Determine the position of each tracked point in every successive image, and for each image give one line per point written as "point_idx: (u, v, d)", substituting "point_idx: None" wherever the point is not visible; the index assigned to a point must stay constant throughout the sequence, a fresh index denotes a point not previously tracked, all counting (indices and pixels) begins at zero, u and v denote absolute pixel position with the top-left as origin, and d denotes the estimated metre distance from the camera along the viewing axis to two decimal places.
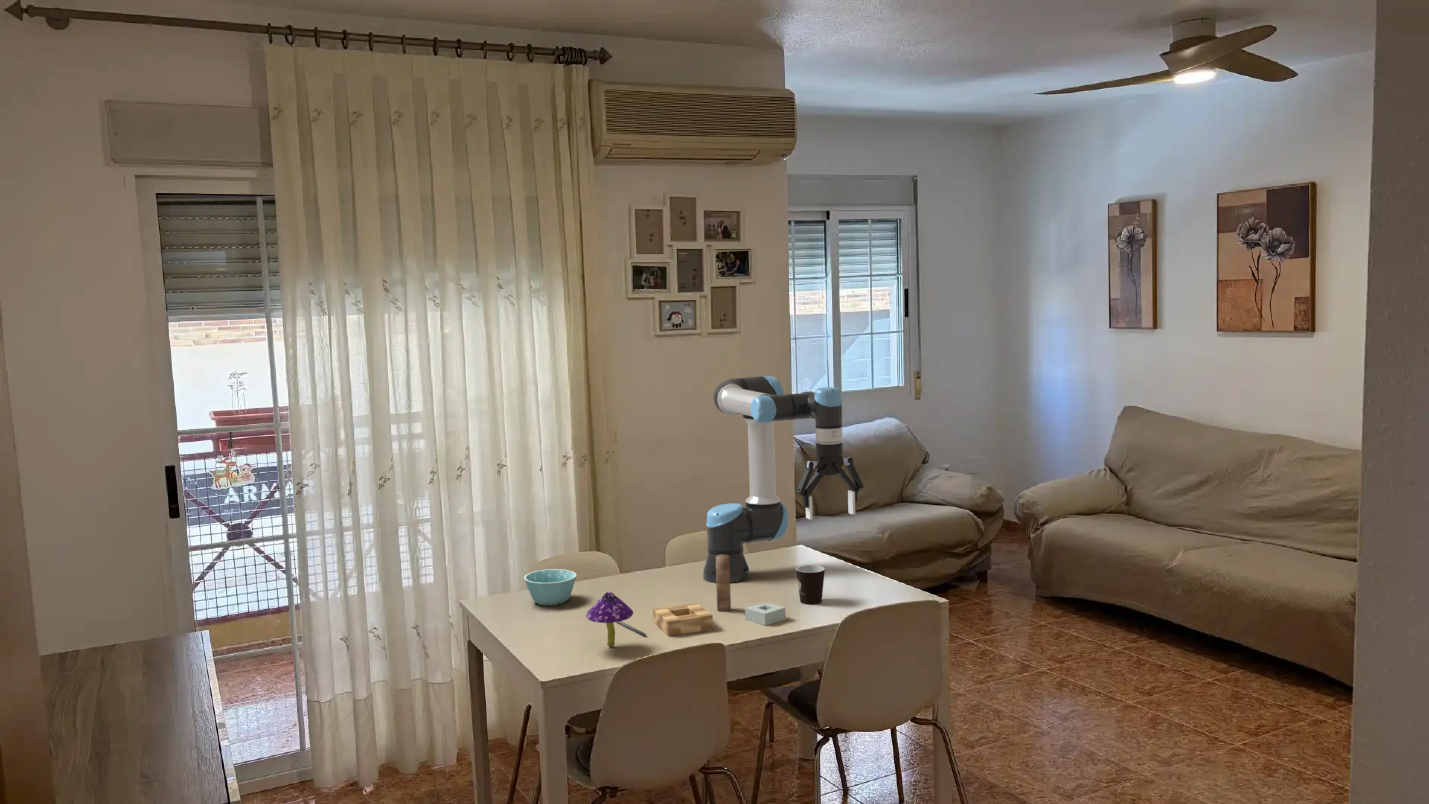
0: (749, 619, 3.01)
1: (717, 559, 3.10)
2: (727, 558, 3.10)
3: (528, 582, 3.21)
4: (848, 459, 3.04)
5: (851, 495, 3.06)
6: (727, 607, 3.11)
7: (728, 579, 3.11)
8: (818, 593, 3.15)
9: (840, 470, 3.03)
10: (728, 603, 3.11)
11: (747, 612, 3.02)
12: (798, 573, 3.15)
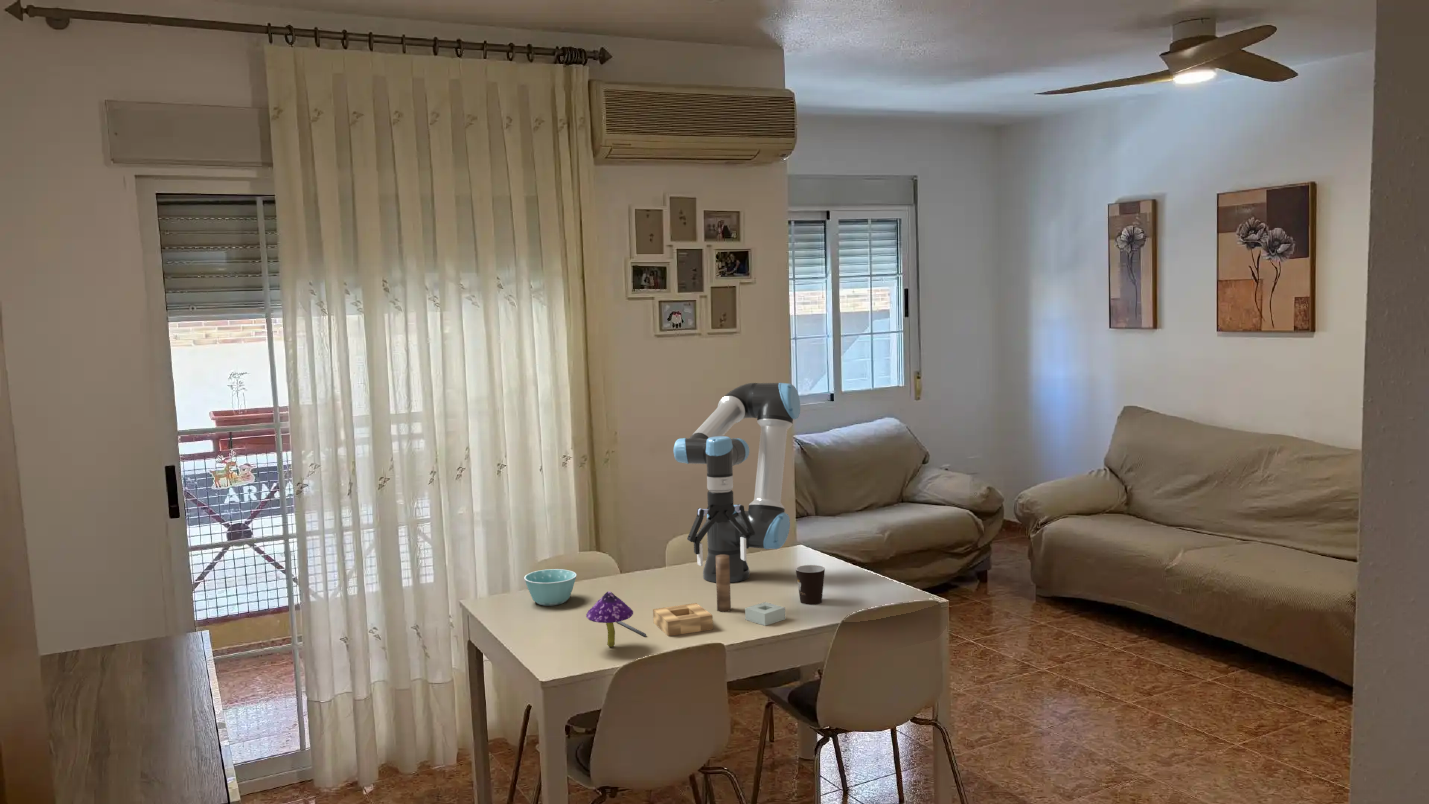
0: (749, 619, 3.01)
1: (717, 559, 3.10)
2: (727, 558, 3.10)
3: (528, 582, 3.21)
4: (739, 506, 3.11)
5: (742, 542, 3.12)
6: (727, 607, 3.11)
7: (728, 579, 3.11)
8: (818, 593, 3.15)
9: (731, 517, 3.09)
10: (728, 603, 3.11)
11: (747, 612, 3.02)
12: (798, 573, 3.15)
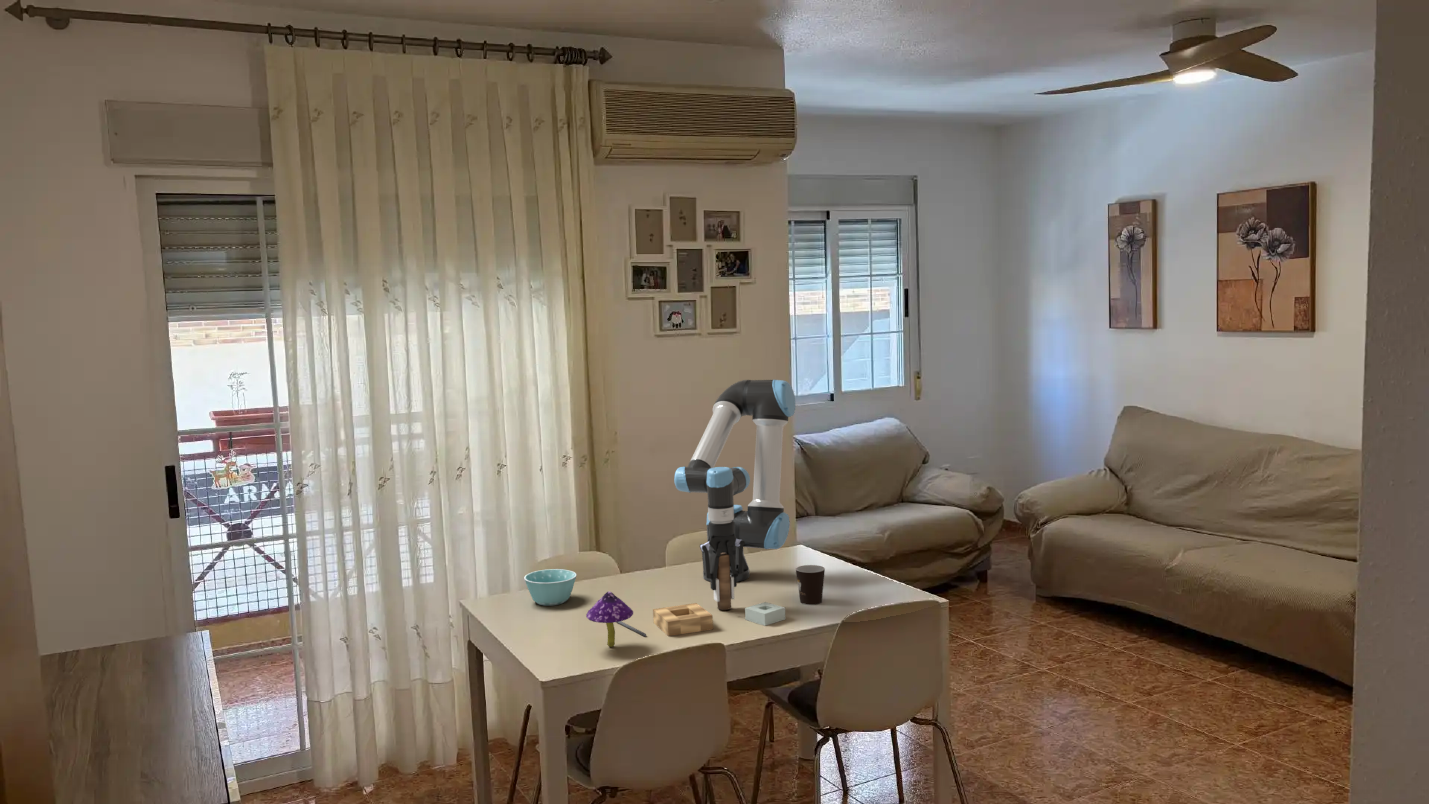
0: (749, 619, 3.01)
1: None
2: (727, 556, 3.10)
3: (528, 582, 3.21)
4: (740, 541, 3.12)
5: (730, 580, 3.12)
6: (727, 605, 3.11)
7: (728, 577, 3.11)
8: (818, 593, 3.15)
9: (729, 549, 3.10)
10: (728, 601, 3.11)
11: (747, 612, 3.02)
12: (798, 573, 3.15)
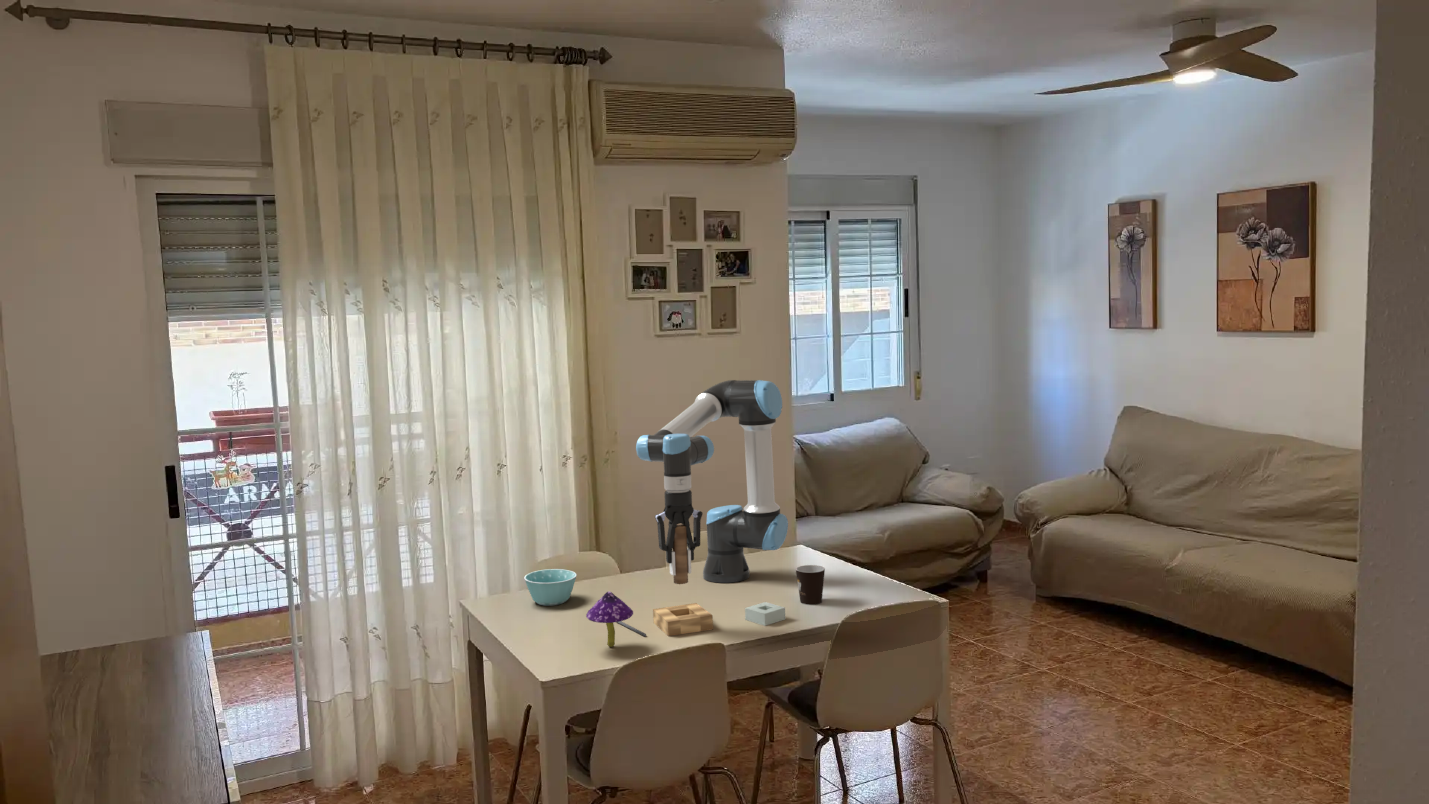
0: (749, 619, 3.01)
1: None
2: (684, 527, 2.94)
3: (528, 582, 3.21)
4: (698, 512, 2.97)
5: (687, 553, 2.96)
6: (683, 579, 2.95)
7: (685, 550, 2.95)
8: (818, 593, 3.15)
9: (686, 520, 2.94)
10: (685, 575, 2.95)
11: (747, 612, 3.02)
12: (798, 573, 3.15)
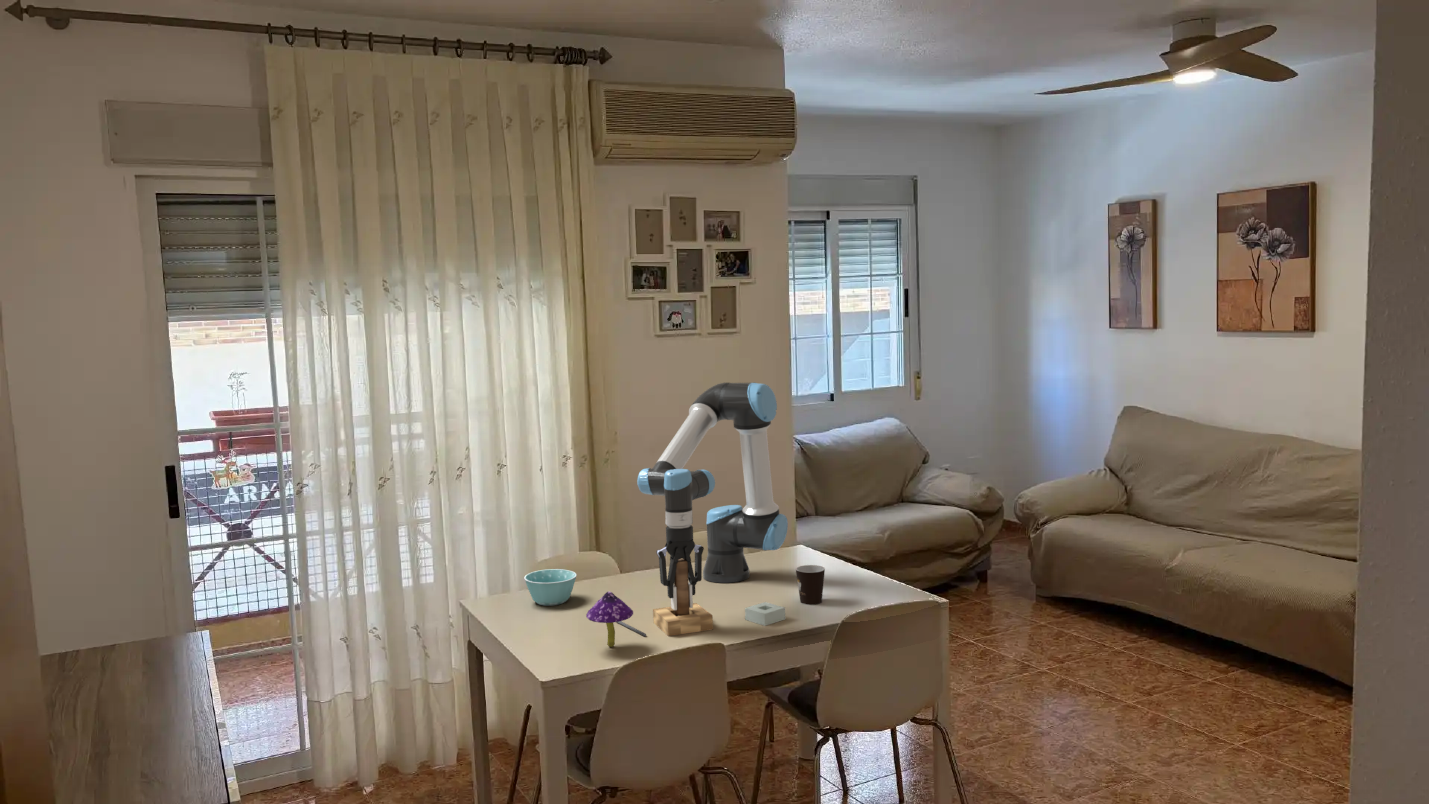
0: (749, 619, 3.01)
1: None
2: (685, 563, 2.95)
3: (528, 582, 3.21)
4: (699, 547, 2.98)
5: None
6: (685, 614, 2.96)
7: (686, 585, 2.96)
8: (818, 593, 3.15)
9: (687, 556, 2.95)
10: (686, 610, 2.97)
11: (747, 612, 3.02)
12: (798, 573, 3.15)
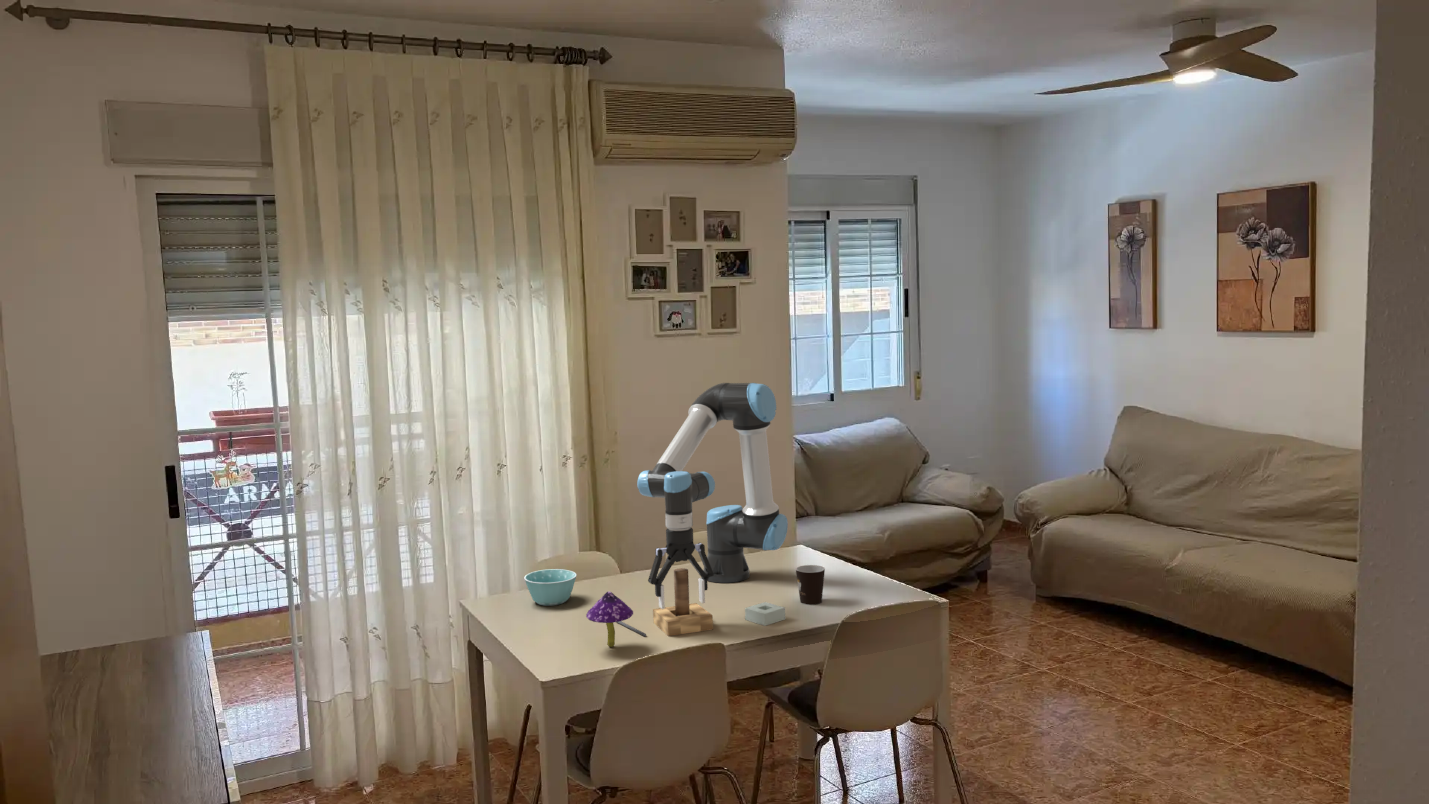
0: (749, 619, 3.01)
1: (675, 573, 2.96)
2: (686, 572, 2.96)
3: (528, 582, 3.21)
4: (700, 545, 2.98)
5: (701, 583, 2.99)
6: None
7: (687, 594, 2.96)
8: (818, 593, 3.15)
9: (690, 557, 2.96)
10: None
11: (747, 612, 3.02)
12: (798, 573, 3.15)
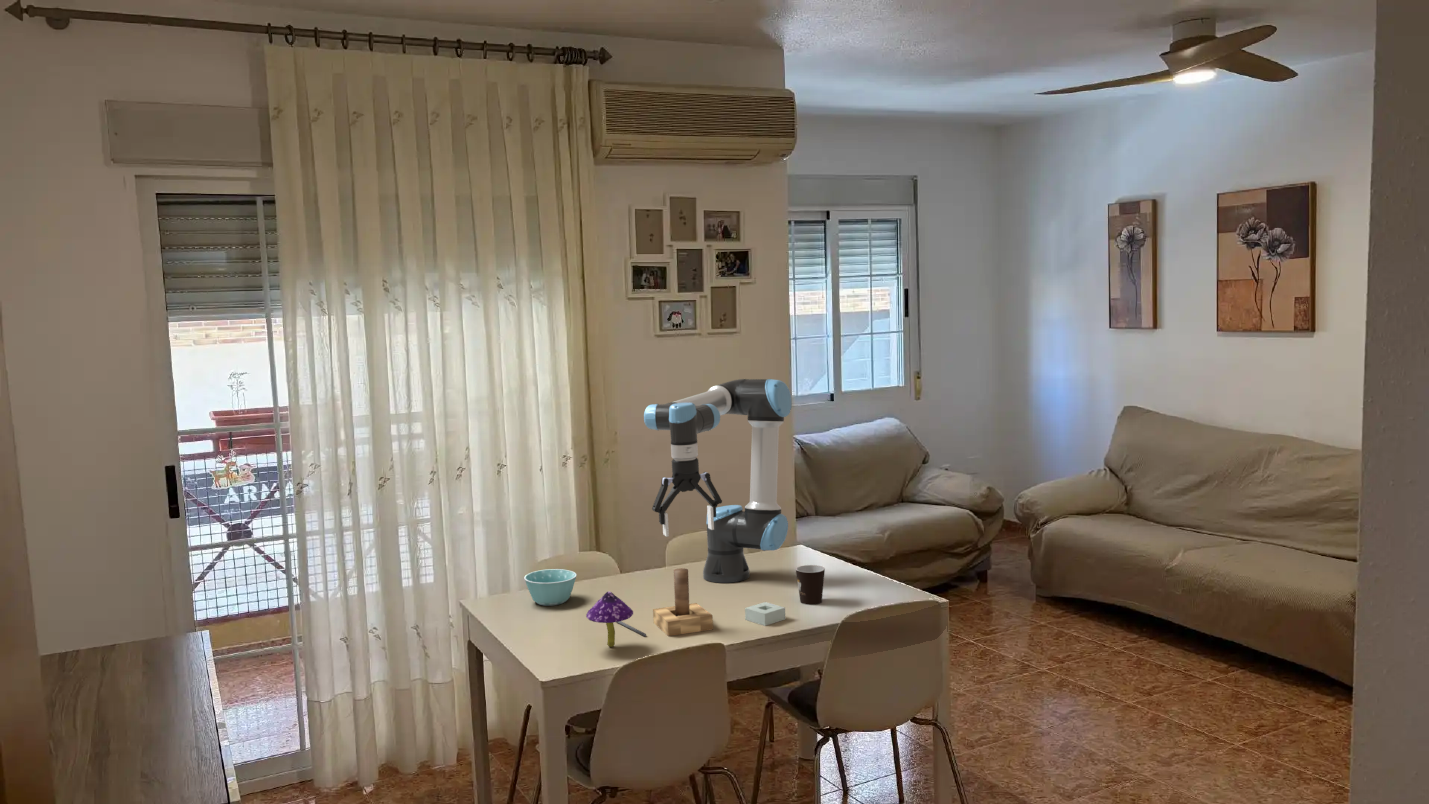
0: (749, 619, 3.01)
1: (675, 573, 2.96)
2: (686, 572, 2.96)
3: (528, 582, 3.21)
4: (705, 474, 3.01)
5: (709, 510, 3.03)
6: None
7: (687, 594, 2.96)
8: (818, 593, 3.15)
9: (696, 486, 3.00)
10: None
11: (747, 612, 3.02)
12: (798, 573, 3.15)
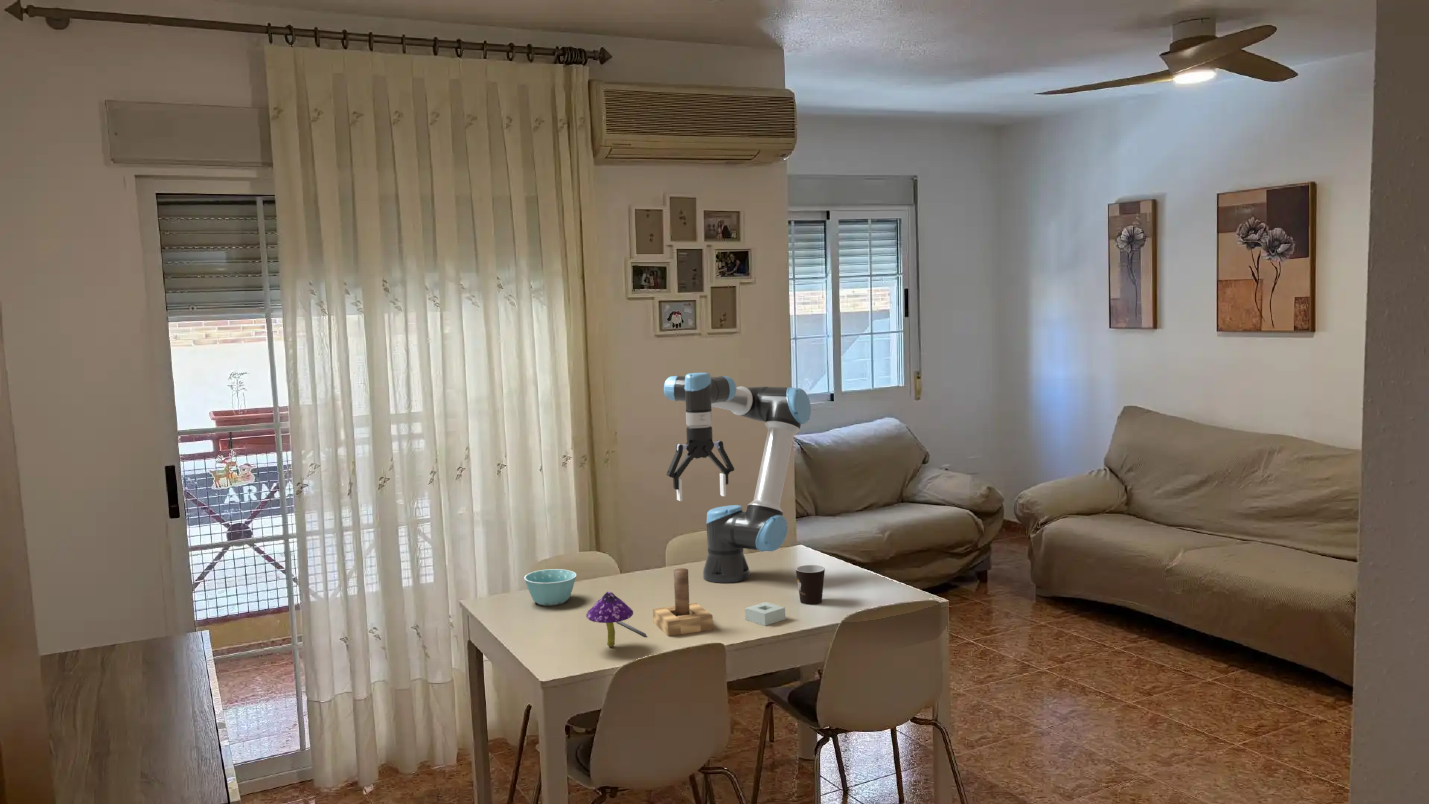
0: (749, 619, 3.01)
1: (675, 573, 2.96)
2: (686, 572, 2.96)
3: (528, 582, 3.21)
4: (718, 442, 3.12)
5: (722, 478, 3.14)
6: None
7: (687, 594, 2.96)
8: (818, 593, 3.15)
9: (710, 453, 3.10)
10: None
11: (747, 612, 3.02)
12: (798, 573, 3.15)
